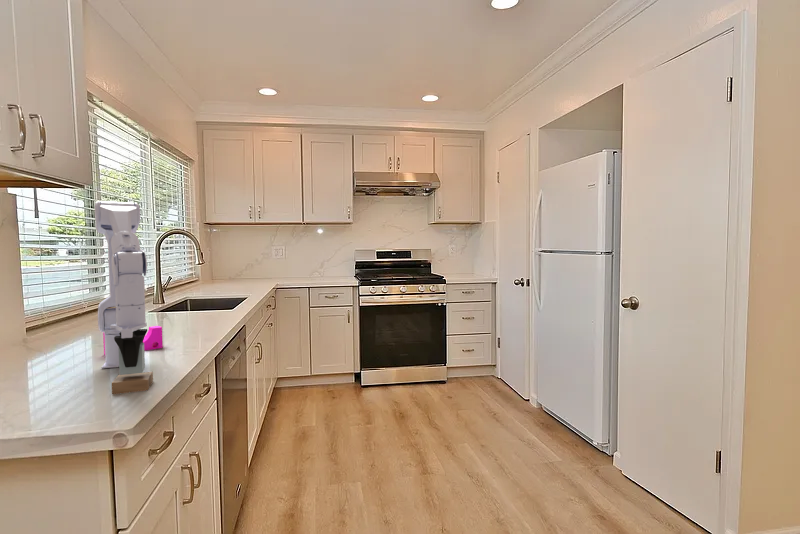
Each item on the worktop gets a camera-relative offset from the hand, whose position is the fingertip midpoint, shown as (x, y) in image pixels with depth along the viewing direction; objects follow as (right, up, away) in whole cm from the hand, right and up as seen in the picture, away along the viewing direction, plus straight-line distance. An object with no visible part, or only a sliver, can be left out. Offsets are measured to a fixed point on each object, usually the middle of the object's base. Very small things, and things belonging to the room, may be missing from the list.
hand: (132, 364), depth 104 cm
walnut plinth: (0, -6, 0) cm, 6 cm away
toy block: (-21, -5, +36) cm, 42 cm away
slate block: (0, -2, 0) cm, 2 cm away
